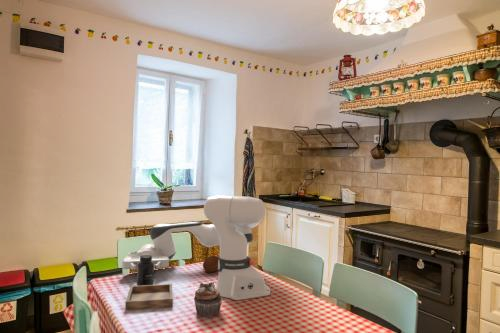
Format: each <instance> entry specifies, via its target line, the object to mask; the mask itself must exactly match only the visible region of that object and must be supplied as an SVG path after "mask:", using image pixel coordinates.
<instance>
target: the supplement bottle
mask: <svg viewBox="0 0 500 333" xmlns="http://www.w3.org/2000/svg"><path fill="white" fill-rule="evenodd" d="M151 261H152V256H151V255H142V256H140V262H139V263H138V265H137V269H136V286H140V285H154V272H155V268H154V263H153V262H151Z"/></svg>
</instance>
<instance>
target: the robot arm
mask: <svg viewBox="0 0 500 333" xmlns="http://www.w3.org/2000/svg"><path fill="white" fill-rule="evenodd" d="M266 211H267V210H266V205H265V202H264V201H263V200H262V199H260V198H257V197H252V196H241V195H223V194H219V195H214V196H209V197H208V198H206V200H205V203H204V205H203V213H204V215H205V216H204V217H206V219H208V220H209V221H210V222H211V223H210V224H205V223H203V222H201V221H199V220H197V221H195V220H193V221H192V220H191V221H182V222H174V223H173V222H172V223H158V224H155V225H153V226H152V227H151V229H150V230H149V237H150V239H151V241H152V243H146V244H144V245H142V246H141V248H140V249H139V250H138V251H133V252H132V251H131V252H128V253H127V255H126V256H125V257H124V258H123V259H122V262H121V263H122V267H121V268H122V270H132V271H137V265H138V263H139V262H140V256H142V255H151V256H152V261H151V262H153V263H154V270H155V269H157V270H158V269H159V268H167V267H169V266H170V265H169V264H170V263H169V262H170V260H172V259H173V258H174V257H175V255H176V254H177V250H176V246H175V242H174V240H173V235H172V233H175V232H177V233H178V232H183V231H188V232H190V233H191V234H193V236H194V237H195V238H196V239H197V241H198V242H199V243H200V244H201V245H203V246H204V247H207V248H211V247H216V246H219V256H218V258H219V260H218V270H217V271H218V276H217V282H216V285H215V289H217V290H218V291H219V293H220V296H221V298H222V297H223V298H227V299H231V300H233V301H243V300H246V299H253V298H260V297H266V296H270V295H271V288H270V287H269V286H268V285H267V284H266V282H265V278H264V275H263V274H262V273H261V272H260V271H258V270H257V269H256V268H255V267H254V266H253V265H255V263H256V261H255V260H254V259H252V258H251V257H249V256H248V246H249V245H250V244H251V243H252V242H253V241H254V234H253V233H252V229H253V228H256V227H257V226H258V225H260V223H261V222H262V221H263V220H264V218H265V216H266V213H267V212H266Z"/></svg>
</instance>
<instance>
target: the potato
mask: <svg viewBox="0 0 500 333" xmlns="http://www.w3.org/2000/svg"><path fill="white" fill-rule="evenodd" d="M218 260H219V256H215V255H211V256H208V257H206V259H204V261H203V263H202V267H203V270H204V271H205V272H206V273H208V274H209V273H214V272H216V271H219V270H218Z"/></svg>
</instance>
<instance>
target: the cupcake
mask: <svg viewBox="0 0 500 333" xmlns="http://www.w3.org/2000/svg"><path fill="white" fill-rule="evenodd" d="M198 287H199V288H197V290H195V293H194V298H193V300H194V305H195V312H196V315H197V316H199V317H200V318H208V319H209V318H214V317H218V316H219V314H220V312H221V307H222V302H223V298H222V296H220V293H219V291H218V290H217V289H216V284H215V282H212V281H210V283H202V282H201V283H200V285H199V286H198Z"/></svg>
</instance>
